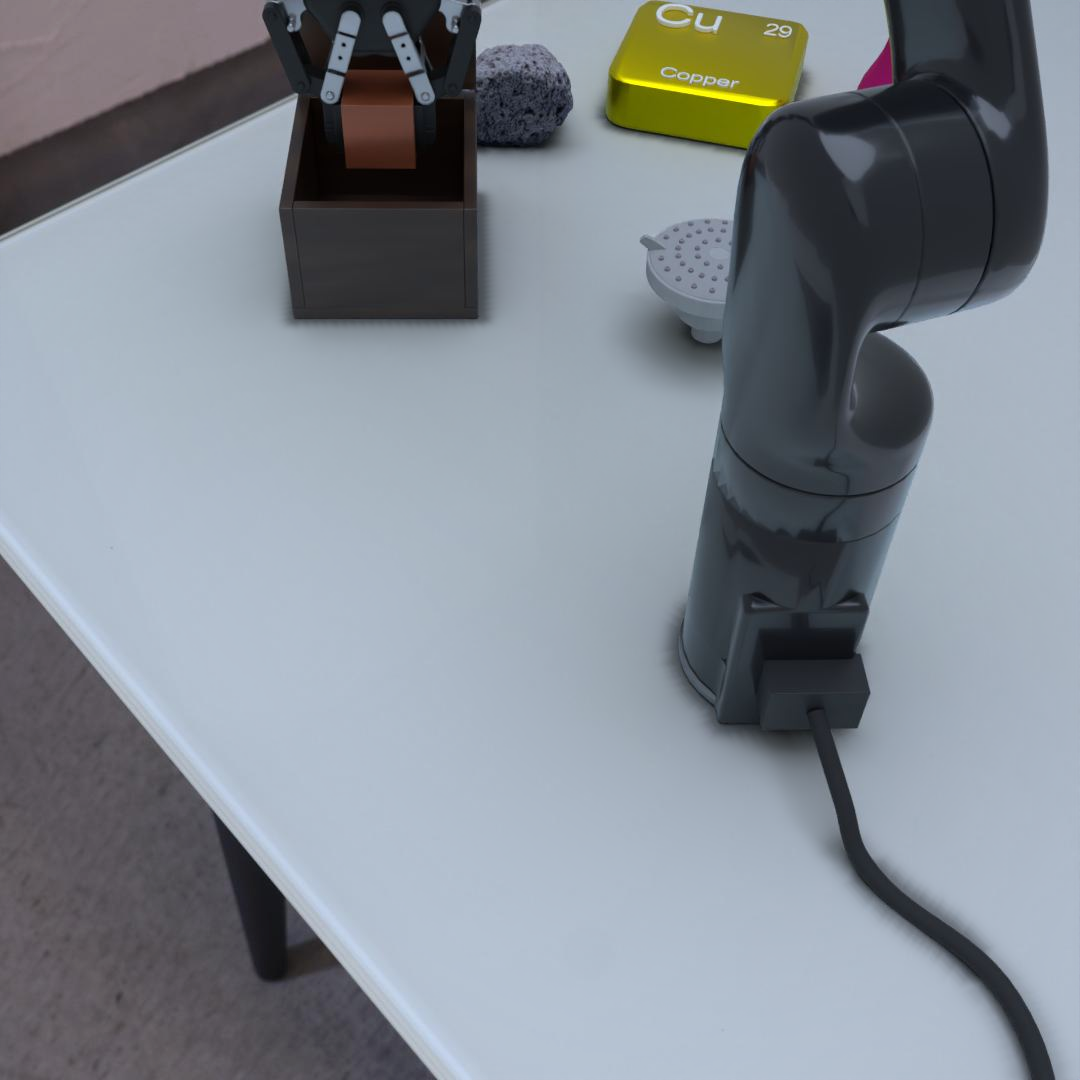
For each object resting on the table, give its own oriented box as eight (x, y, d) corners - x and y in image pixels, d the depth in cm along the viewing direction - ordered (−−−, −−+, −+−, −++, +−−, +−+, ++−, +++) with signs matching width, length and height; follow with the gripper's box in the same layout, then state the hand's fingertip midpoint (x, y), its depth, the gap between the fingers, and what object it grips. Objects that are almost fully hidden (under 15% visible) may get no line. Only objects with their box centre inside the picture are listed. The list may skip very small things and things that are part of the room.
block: (415, 169, 87) (412, 105, 84) (346, 168, 87) (340, 105, 84) (417, 132, 90) (414, 69, 87) (350, 131, 90) (345, 69, 87)
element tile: (599, 125, 109) (603, 71, 106) (639, 42, 119) (643, -10, 115) (778, 156, 107) (788, 102, 103) (803, 68, 116) (813, 16, 113)
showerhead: (650, 195, 90) (797, 216, 88) (641, 282, 95) (779, 302, 94) (629, 277, 83) (786, 300, 82) (620, 365, 89) (768, 387, 88)
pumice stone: (481, 117, 114) (433, 142, 106) (489, 24, 110) (439, 42, 102) (593, 140, 111) (552, 168, 103) (605, 46, 107) (563, 67, 99)
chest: (478, 318, 92) (477, 209, 85) (293, 318, 91) (278, 208, 84) (477, 198, 101) (476, 92, 95) (311, 197, 101) (298, 90, 94)
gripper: (232, -91, 73) (270, 177, 86) (489, -87, 74) (489, 178, 86) (247, -144, 78) (281, 117, 91) (487, -140, 79) (488, 118, 91)
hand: (382, 145), depth 88 cm, fingers closed on block, 4 cm apart
